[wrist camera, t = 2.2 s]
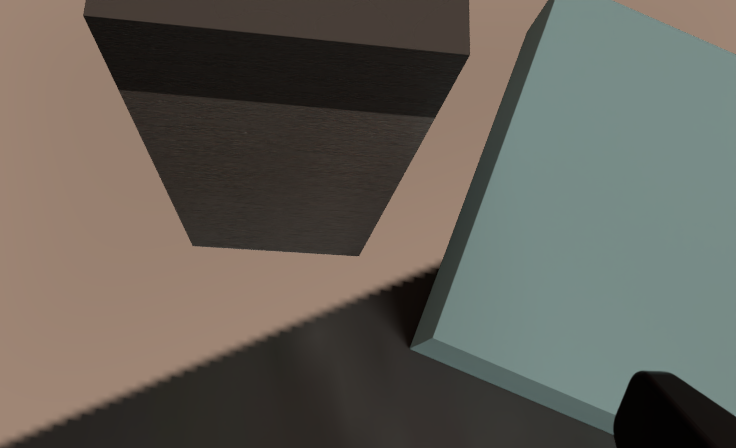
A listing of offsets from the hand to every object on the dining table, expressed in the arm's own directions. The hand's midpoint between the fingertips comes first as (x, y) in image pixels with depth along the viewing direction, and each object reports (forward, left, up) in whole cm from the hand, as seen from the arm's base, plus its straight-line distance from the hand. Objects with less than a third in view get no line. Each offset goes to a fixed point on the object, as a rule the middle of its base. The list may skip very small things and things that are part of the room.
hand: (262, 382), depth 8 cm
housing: (+6, -3, -12) cm, 14 cm away
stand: (0, -13, -12) cm, 17 cm away
